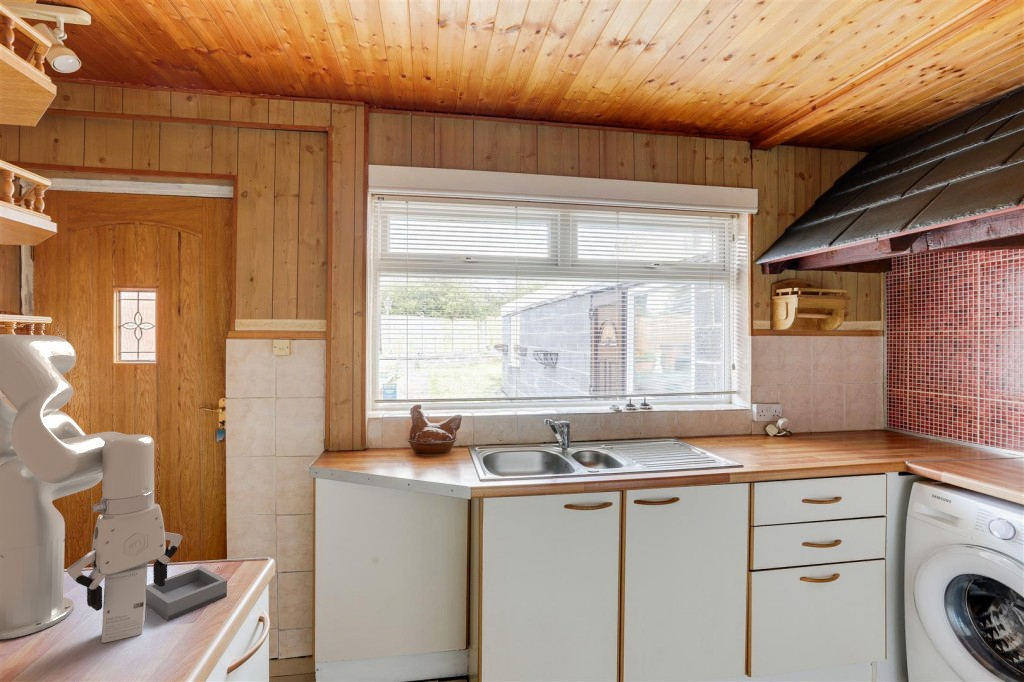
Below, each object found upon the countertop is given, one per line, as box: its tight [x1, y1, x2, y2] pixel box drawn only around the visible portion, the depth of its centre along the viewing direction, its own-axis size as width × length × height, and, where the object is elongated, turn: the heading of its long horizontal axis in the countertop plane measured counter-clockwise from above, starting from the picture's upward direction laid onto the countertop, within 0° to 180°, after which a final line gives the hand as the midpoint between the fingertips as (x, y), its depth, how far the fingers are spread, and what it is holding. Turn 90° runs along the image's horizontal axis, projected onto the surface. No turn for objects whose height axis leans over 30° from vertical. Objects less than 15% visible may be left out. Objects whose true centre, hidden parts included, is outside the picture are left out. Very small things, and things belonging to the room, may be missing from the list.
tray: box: [145, 565, 228, 622], centre depth 100 cm, size 11×11×4 cm
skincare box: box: [100, 562, 149, 644], centre depth 89 cm, size 6×4×12 cm
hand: (129, 595), depth 89 cm, fingers open, 9 cm apart
